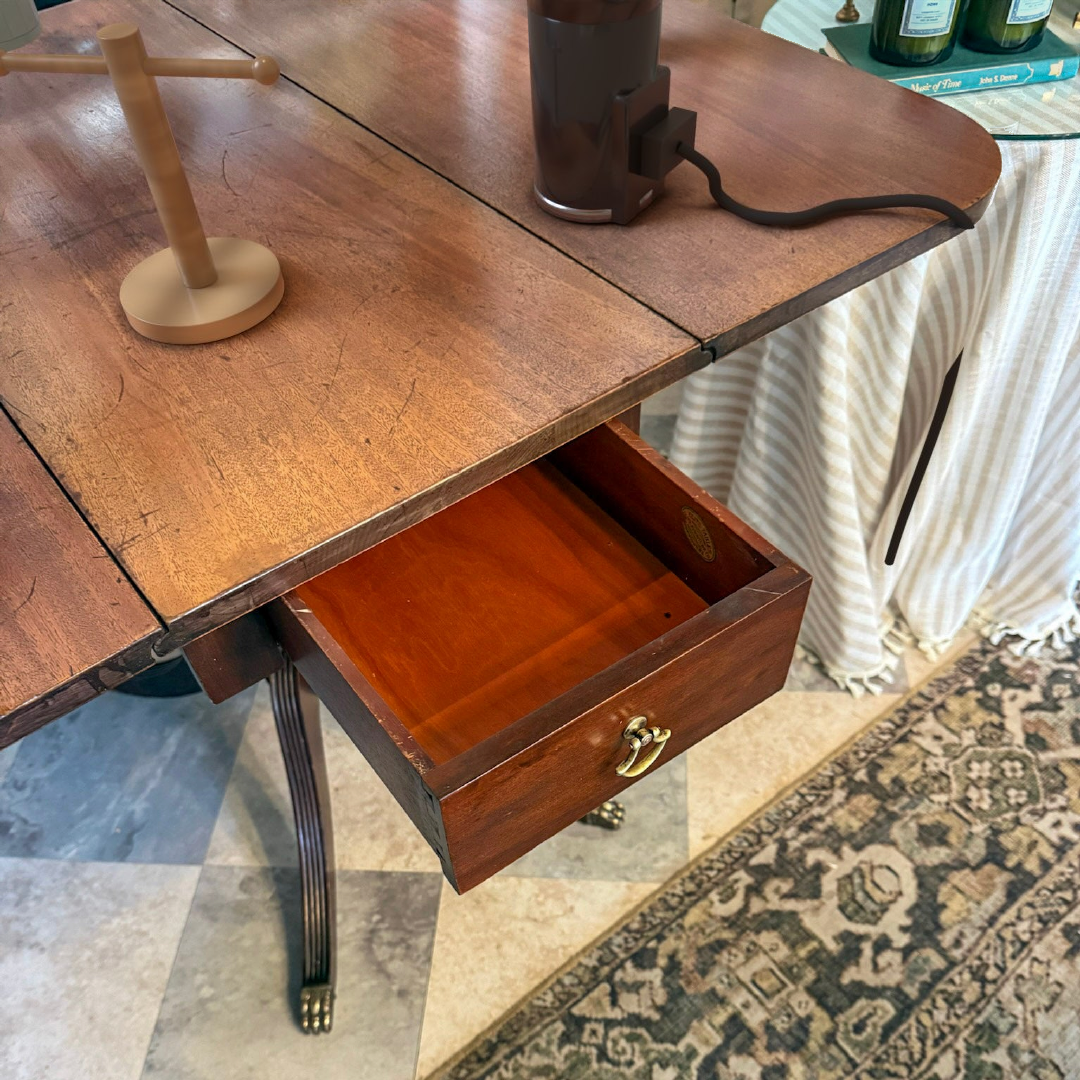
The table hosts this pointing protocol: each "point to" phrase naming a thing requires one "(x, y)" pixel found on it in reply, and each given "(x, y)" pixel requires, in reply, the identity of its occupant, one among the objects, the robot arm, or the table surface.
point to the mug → (18, 24)
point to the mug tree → (175, 199)
